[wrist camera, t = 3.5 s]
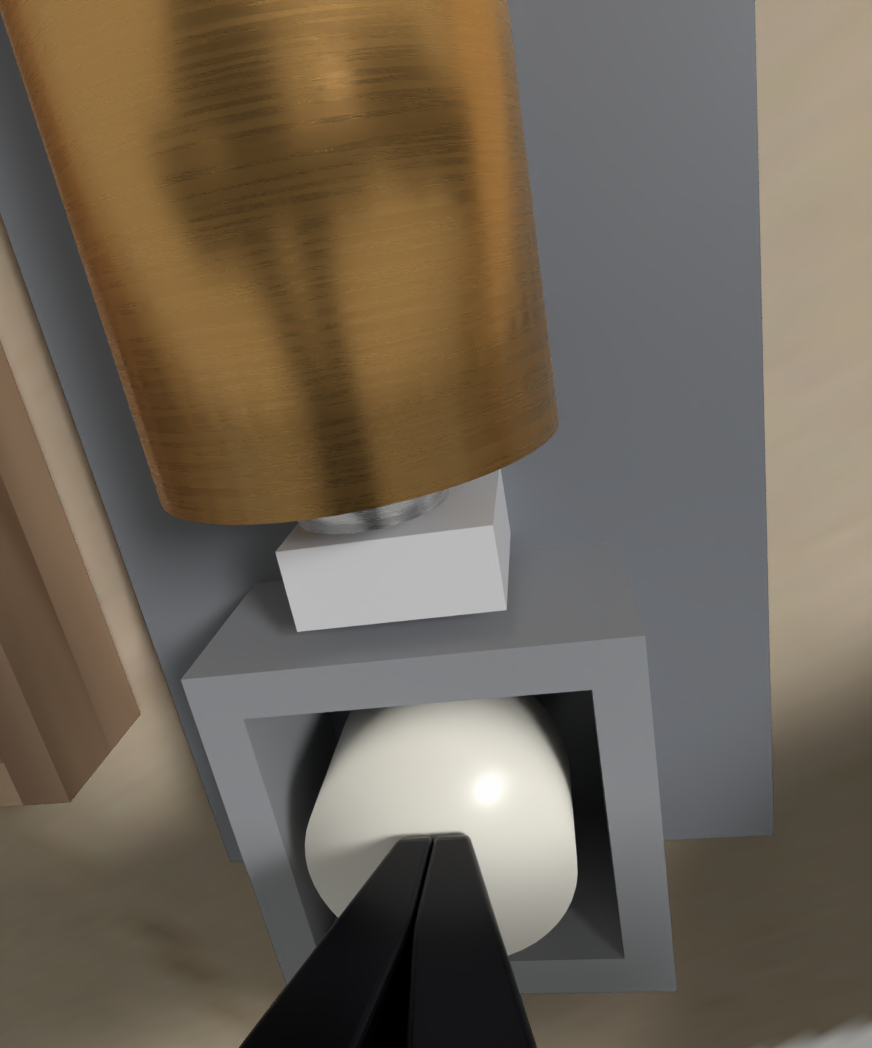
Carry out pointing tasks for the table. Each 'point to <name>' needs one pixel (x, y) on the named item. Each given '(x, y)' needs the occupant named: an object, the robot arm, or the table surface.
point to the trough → (48, 633)
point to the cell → (302, 244)
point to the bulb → (453, 803)
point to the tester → (506, 505)
